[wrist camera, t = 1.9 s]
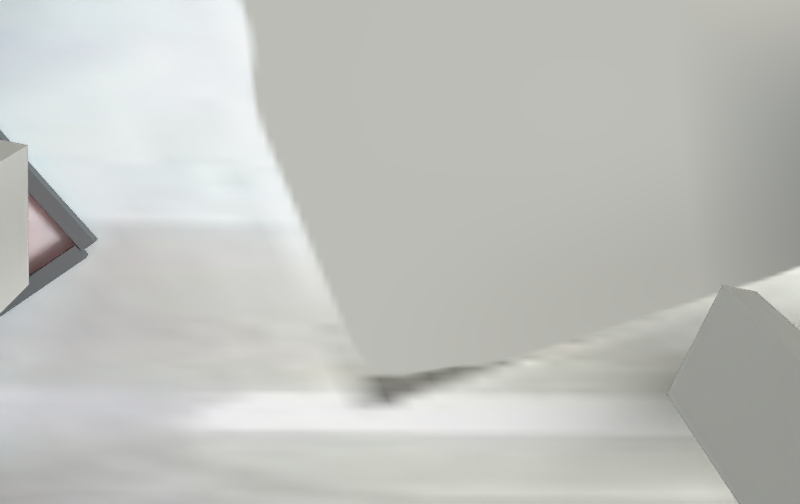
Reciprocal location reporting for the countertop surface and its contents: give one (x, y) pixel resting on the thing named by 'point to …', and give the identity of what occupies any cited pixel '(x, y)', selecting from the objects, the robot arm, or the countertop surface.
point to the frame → (68, 224)
